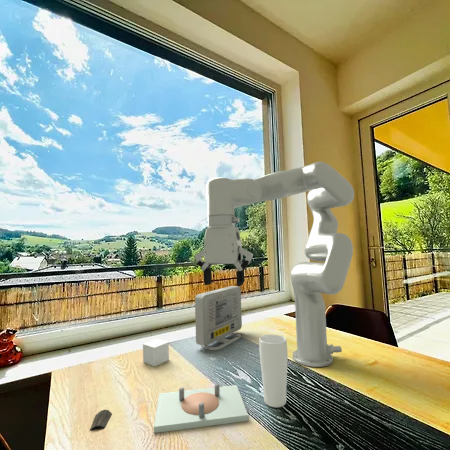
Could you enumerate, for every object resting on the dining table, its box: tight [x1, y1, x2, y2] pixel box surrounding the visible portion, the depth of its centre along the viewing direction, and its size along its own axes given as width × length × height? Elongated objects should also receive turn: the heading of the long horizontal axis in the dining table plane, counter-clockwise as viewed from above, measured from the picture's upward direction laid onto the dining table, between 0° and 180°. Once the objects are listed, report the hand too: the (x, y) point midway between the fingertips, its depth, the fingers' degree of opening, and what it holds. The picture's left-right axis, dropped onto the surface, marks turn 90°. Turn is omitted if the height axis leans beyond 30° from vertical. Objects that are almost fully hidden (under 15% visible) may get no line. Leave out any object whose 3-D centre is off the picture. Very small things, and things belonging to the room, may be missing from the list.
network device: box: [194, 285, 243, 351], centre depth 110 cm, size 26×9×20 cm, turn 144°
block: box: [89, 409, 112, 431], centre depth 61 cm, size 4×6×2 cm, turn 11°
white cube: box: [142, 338, 170, 367], centre depth 92 cm, size 6×6×6 cm
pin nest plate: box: [153, 383, 249, 434], centre depth 65 cm, size 20×13×4 cm, turn 99°
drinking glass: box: [258, 334, 288, 408], centre depth 67 cm, size 7×7×15 cm
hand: (223, 284), depth 75 cm, fingers open, 9 cm apart
